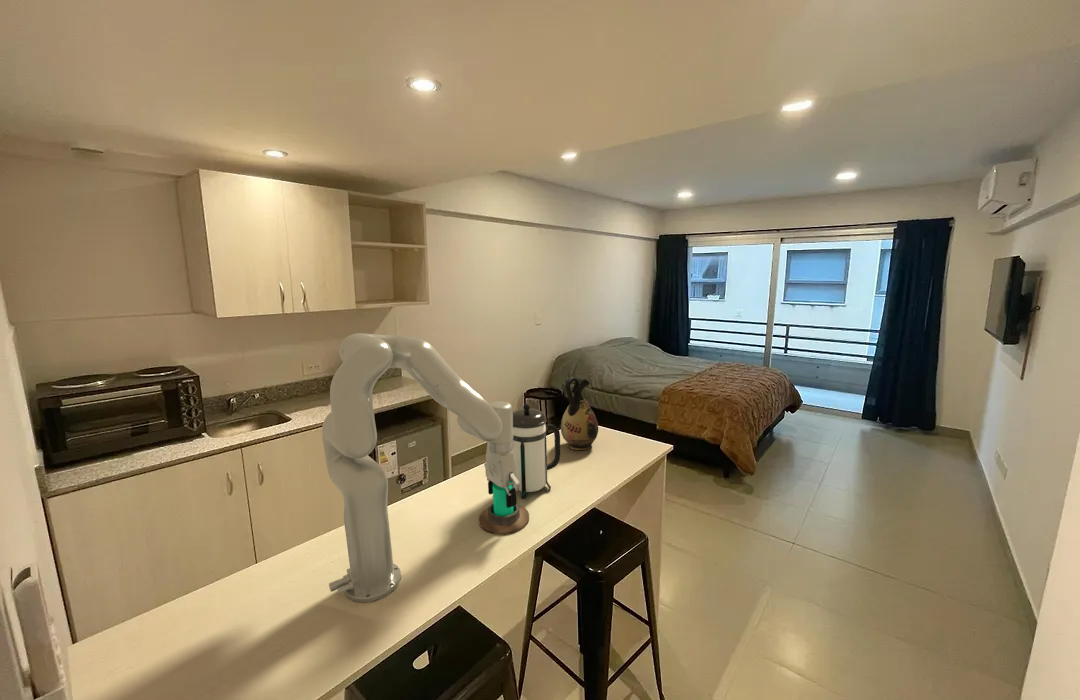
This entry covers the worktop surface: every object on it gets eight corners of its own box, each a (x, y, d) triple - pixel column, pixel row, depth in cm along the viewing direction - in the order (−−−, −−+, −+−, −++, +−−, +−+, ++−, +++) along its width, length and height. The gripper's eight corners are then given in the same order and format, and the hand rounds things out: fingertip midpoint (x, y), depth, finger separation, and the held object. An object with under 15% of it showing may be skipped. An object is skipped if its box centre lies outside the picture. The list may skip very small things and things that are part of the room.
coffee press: (546, 503, 138) (544, 413, 132) (500, 496, 143) (496, 409, 137) (561, 478, 154) (560, 397, 148) (519, 472, 159) (516, 393, 154)
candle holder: (496, 541, 120) (495, 530, 119) (469, 517, 131) (469, 507, 131) (539, 521, 129) (539, 510, 128) (510, 500, 140) (510, 490, 140)
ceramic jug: (579, 435, 192) (578, 369, 186) (605, 446, 180) (606, 376, 174) (550, 446, 181) (549, 377, 175) (576, 458, 169) (576, 384, 164)
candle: (489, 517, 129) (487, 480, 127) (504, 508, 134) (502, 472, 132) (503, 525, 126) (502, 486, 123) (518, 515, 130) (516, 478, 128)
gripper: (474, 439, 130) (476, 491, 133) (506, 458, 116) (508, 516, 120) (495, 433, 134) (497, 484, 138) (528, 450, 121) (529, 507, 124)
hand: (502, 499), depth 129 cm, fingers open, 9 cm apart
